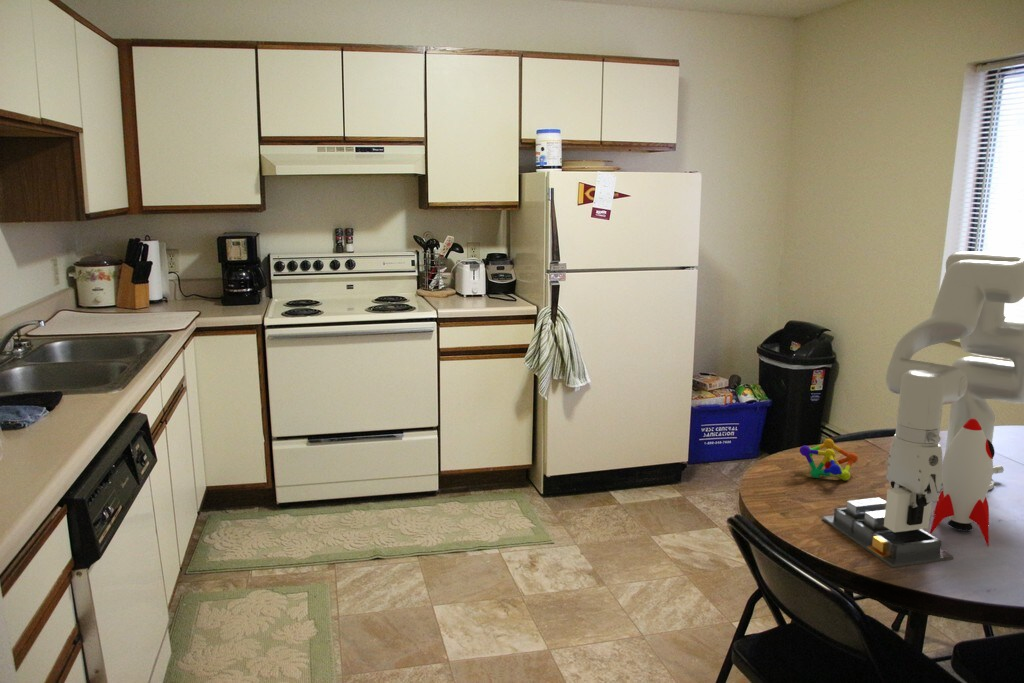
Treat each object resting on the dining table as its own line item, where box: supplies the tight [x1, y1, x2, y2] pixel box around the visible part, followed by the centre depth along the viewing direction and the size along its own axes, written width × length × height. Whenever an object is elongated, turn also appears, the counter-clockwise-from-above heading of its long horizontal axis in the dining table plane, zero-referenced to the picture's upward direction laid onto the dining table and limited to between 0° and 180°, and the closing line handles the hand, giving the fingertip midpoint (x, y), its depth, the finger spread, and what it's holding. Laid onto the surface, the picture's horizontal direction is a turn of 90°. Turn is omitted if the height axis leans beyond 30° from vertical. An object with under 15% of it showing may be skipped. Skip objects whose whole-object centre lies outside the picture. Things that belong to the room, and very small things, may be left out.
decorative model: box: [799, 438, 859, 481], centre depth 192 cm, size 13×9×15 cm
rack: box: [821, 497, 954, 569], centre depth 158 cm, size 14×22×6 cm, turn 13°
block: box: [884, 487, 933, 532], centre depth 151 cm, size 8×3×8 cm, turn 103°
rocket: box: [929, 419, 995, 547], centre depth 159 cm, size 11×11×25 cm
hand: (907, 519), depth 152 cm, fingers closed on block, 3 cm apart
